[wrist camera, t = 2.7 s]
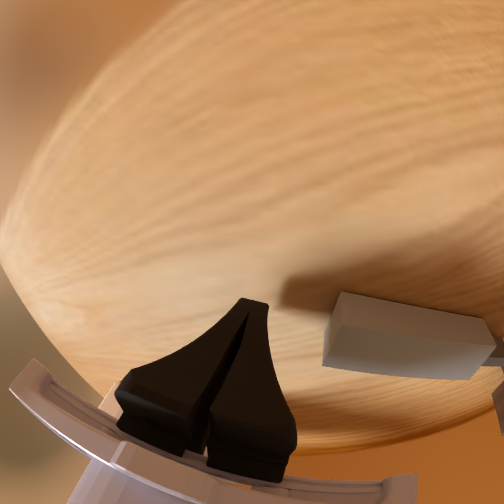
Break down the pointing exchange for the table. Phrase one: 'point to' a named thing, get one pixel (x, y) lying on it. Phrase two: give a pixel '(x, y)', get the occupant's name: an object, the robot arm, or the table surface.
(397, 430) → the table surface
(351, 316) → the rail
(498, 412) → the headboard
